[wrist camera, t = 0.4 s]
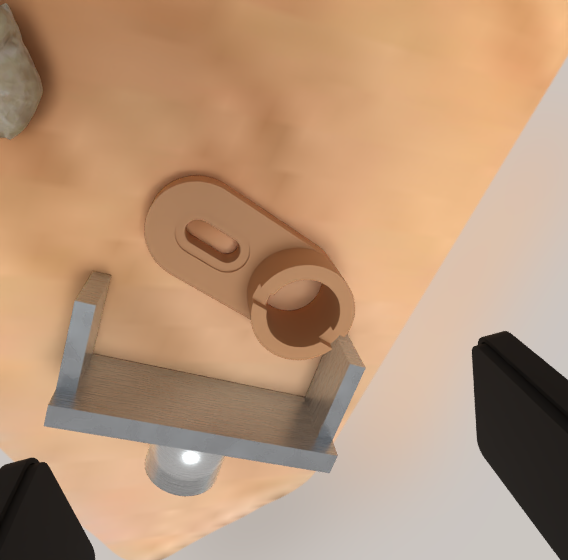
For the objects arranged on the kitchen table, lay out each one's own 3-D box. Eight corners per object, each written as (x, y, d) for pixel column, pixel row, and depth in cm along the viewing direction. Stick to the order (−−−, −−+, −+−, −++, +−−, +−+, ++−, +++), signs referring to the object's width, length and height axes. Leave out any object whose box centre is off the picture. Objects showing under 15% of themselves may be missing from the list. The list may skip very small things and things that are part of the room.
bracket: (351, 268, 44) (375, 299, 38) (298, 335, 46) (313, 375, 40) (182, 154, 38) (177, 169, 32) (130, 237, 40) (115, 266, 34)
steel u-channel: (93, 270, 40) (67, 312, 33) (347, 333, 46) (372, 381, 39) (60, 420, 45) (31, 485, 38) (292, 459, 52) (306, 522, 44)
